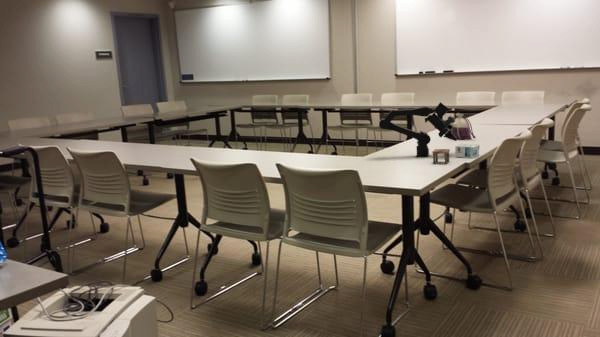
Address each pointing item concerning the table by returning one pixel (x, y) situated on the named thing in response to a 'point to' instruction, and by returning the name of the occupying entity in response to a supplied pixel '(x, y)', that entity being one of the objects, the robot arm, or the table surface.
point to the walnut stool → (440, 151)
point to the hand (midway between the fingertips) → (456, 140)
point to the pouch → (462, 127)
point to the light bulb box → (467, 150)
